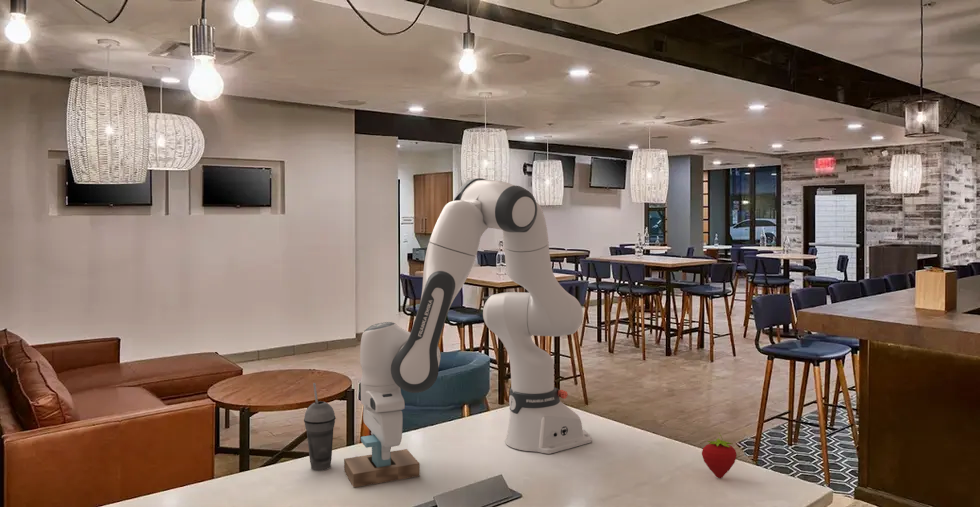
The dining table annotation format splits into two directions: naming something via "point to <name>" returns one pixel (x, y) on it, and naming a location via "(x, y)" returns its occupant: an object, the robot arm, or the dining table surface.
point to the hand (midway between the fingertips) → (381, 454)
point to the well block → (381, 469)
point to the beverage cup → (320, 433)
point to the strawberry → (719, 457)
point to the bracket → (375, 450)
